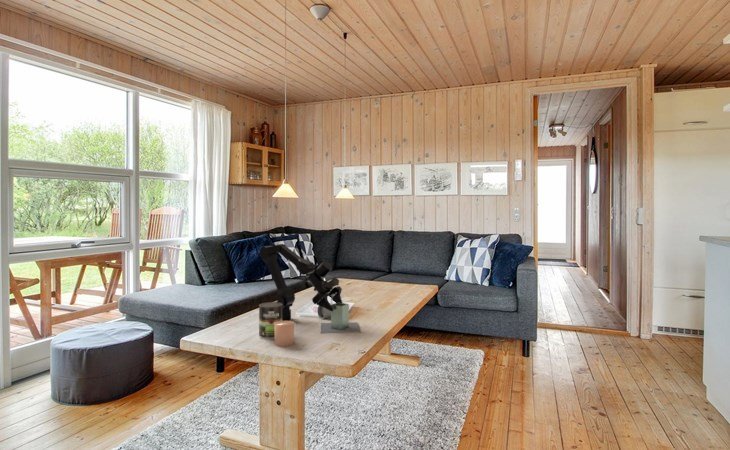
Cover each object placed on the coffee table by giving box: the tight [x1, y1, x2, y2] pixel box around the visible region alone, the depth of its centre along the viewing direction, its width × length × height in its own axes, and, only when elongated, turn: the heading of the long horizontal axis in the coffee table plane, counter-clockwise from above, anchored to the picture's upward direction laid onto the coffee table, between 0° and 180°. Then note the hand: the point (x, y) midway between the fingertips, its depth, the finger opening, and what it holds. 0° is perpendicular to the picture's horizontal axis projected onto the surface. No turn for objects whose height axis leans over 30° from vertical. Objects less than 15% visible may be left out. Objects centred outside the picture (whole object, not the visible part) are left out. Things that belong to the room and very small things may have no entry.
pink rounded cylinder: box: [274, 320, 295, 348], centre depth 169 cm, size 8×8×9 cm
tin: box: [330, 302, 350, 330], centre depth 191 cm, size 6×6×11 cm
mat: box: [320, 321, 361, 334], centre depth 191 cm, size 18×16×1 cm
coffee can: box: [258, 301, 283, 339], centre depth 180 cm, size 10×10×14 cm
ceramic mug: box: [317, 302, 334, 320], centre depth 211 cm, size 11×8×8 cm
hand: (338, 308), depth 192 cm, fingers open, 9 cm apart
